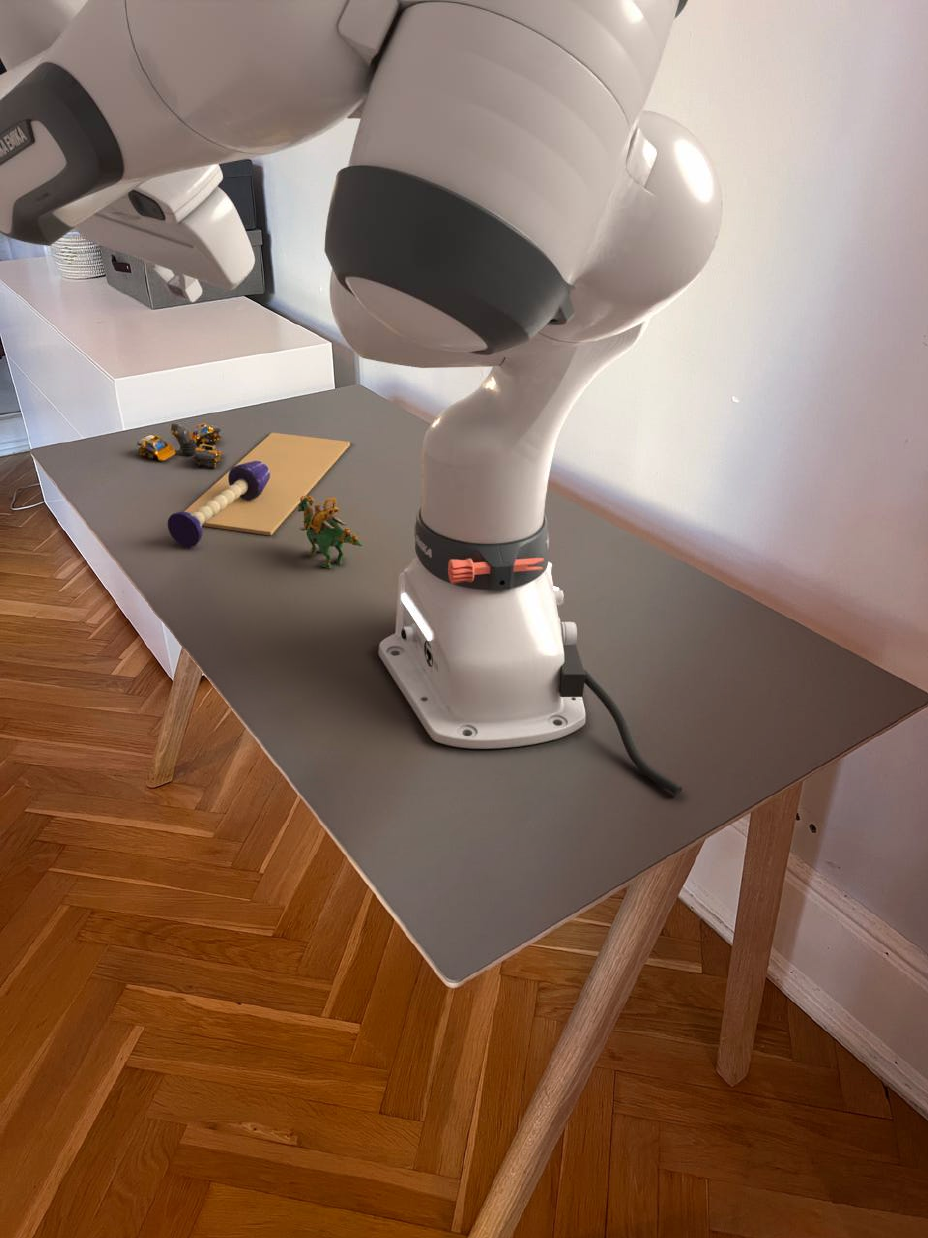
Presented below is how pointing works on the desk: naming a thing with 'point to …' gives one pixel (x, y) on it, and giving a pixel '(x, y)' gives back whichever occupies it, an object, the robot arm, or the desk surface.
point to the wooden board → (275, 482)
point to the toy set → (185, 445)
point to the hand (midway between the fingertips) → (187, 294)
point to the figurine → (325, 528)
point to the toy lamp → (220, 502)
